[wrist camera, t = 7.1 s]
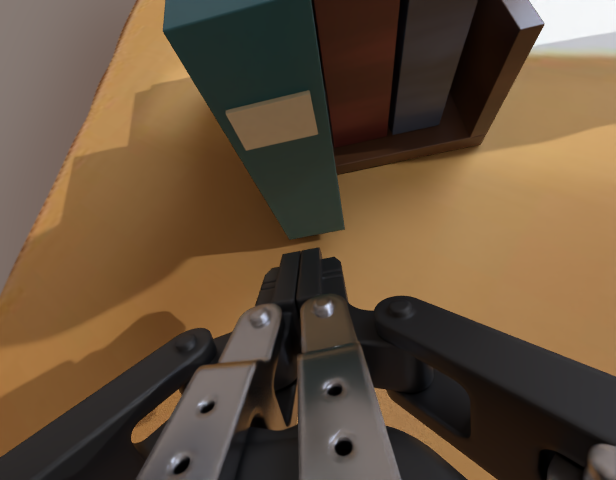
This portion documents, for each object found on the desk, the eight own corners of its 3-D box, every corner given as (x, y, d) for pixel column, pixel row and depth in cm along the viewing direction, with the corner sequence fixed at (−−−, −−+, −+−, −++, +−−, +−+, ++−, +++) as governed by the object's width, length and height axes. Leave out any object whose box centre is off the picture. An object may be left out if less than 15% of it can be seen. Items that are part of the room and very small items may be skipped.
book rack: (257, 65, 31) (171, -174, 17) (426, 21, 29) (481, -283, 16) (268, 189, 25) (152, -22, 11) (480, 144, 24) (648, -170, 10)
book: (274, 114, 26) (178, -154, 13) (320, 103, 26) (270, -186, 12) (289, 242, 22) (161, 36, 8) (345, 232, 21) (310, -5, 8)
